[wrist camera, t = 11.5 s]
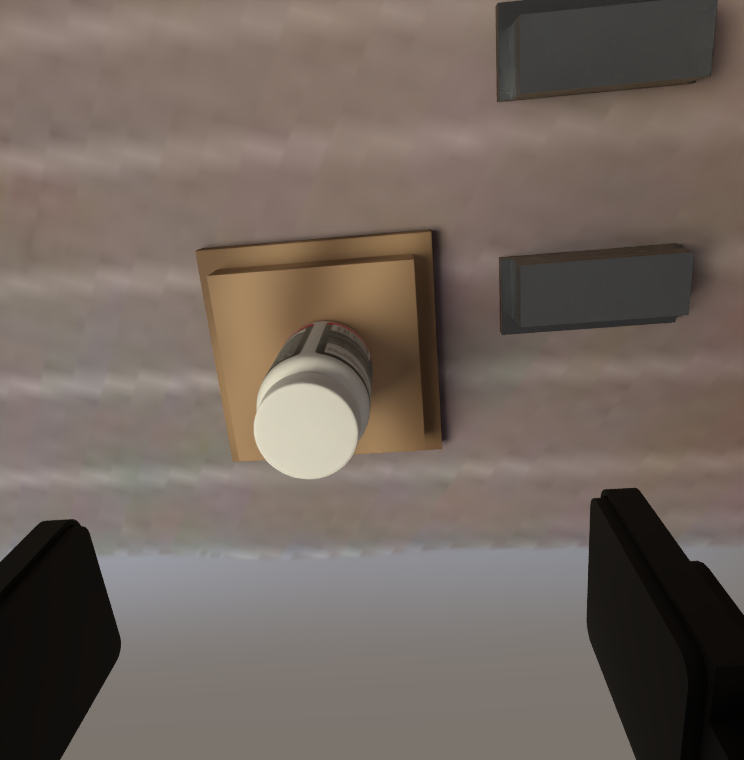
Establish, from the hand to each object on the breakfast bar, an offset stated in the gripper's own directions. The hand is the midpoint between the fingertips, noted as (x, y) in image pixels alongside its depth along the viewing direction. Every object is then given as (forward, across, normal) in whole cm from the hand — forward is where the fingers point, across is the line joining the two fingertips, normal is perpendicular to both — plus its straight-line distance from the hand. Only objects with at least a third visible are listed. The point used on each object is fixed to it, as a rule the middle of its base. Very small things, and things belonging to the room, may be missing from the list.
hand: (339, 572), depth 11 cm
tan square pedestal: (+22, +3, +2) cm, 23 cm away
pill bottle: (+20, +3, +2) cm, 20 cm away
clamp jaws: (+23, -11, -5) cm, 26 cm away
